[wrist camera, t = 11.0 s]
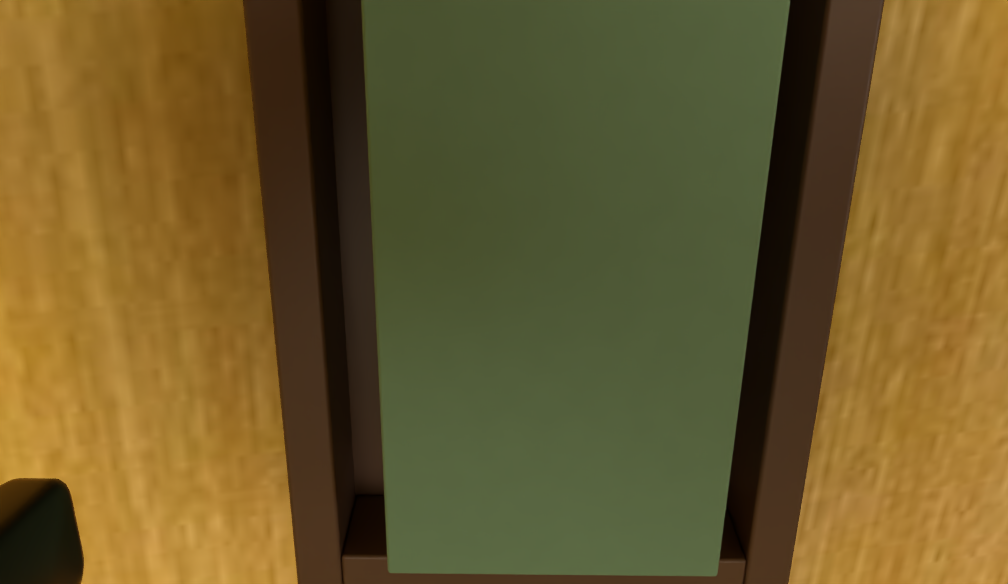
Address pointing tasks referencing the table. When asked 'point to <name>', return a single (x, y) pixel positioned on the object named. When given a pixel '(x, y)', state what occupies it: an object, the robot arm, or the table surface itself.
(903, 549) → the table surface
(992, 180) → the table surface
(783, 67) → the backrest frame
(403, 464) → the green block
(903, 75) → the table surface
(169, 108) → the table surface
